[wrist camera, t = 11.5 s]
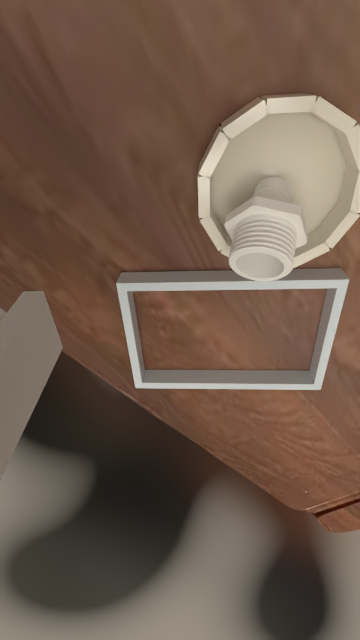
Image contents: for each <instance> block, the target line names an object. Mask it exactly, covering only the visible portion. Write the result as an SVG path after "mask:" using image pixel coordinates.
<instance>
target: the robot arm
mask: <svg viewBox="0 0 360 640" xmlns="http://www.w3.org/2000/svg"><path fill="white" fill-rule="evenodd" d="M62 348H63V346H62V343H61V341H60V338H59V335H58V332H57V329H56V326H55V323H54V320H53V318H52V315H51V312H50V309H49V306H48V303H47V300H46V297H45V294H44V292H43V291H29V292H23V293H22V294H21V295H20V297H19V298H18V299H17V301H16V302H15V303H14V304H13V306H12V307H11V308H10V310H9V311H8V312H7V314H6V315H5V316H4V318H3V319H2V320H1V322H0V479H1V477H2V475H3V473H4V471H5V469H6V466H7V464H8V462H9V460H10V458H11V456H12V454H13V452H14V449H15V447H16V445H17V443H18V441H19V439H20V437H21V434H22V433H23V430H24V428H25V426H26V424H27V422H28V420H29V418H30V416H31V414H32V412H33V409H34V407H35V405H36V403H37V401H38V399H39V397H40V395H41V393H42V390H43V388H44V386H45V384H46V382H47V380H48V378H49V376H50V373H51V371H52V369H53V367H54V365H55V363H56V361H57V359H58V357H59V355H60V352H61V350H62Z"/></svg>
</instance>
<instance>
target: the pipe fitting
mask: <svg viewBox="0 0 360 640" xmlns="http://www.w3.org/2000/svg"><path fill="white" fill-rule="evenodd" d="M290 201H291V188H290V185H289V184H288V182H286V181H285V180H283V179H281V178H278V177H269V178H265V179H263V180H261V181H260V182H259V183H258V184H257V186H256V188H255V191H254V194H253V197H252V198H251V199H250V200H248V201H247V202H245V203H244V204H242V205H241V206H239V207H238V208H236V209H235V210H233V211H232V212H230V213H229V214H227V215H226V219H225V224H224V226H225V228H226V230H227V232H228V234H229V236H230V237H231V239H232V245H231V250H230V255H229V265H230V267H231V268H232V270H233V271H235V272H236V273H237V274H239V275H240V276H242V277H245V278H247V279H251V280H255V281H273V280H277V279H280V278H282V277H285V276H286V275H288V274H289V273H290V272H291V271H292V269H293V263H294V254H295V249H296V248H298V247H301V246H303V245H305V244H306V243H307V238H308V230H307V226H306V222H305V218H304V214H303V210H302V207H301V206H299V205H295V204H290Z"/></svg>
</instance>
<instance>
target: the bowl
mask: <svg viewBox="0 0 360 640" xmlns="http://www.w3.org/2000/svg"><path fill="white" fill-rule="evenodd" d="M356 122H357V121H355V120H354V119H352V118H351V117H349V116H348V115H346V114H345V113H344V112H342V111H341V110H339V109H338V108H336V107H335V106H333V105H332V104H330V103H329V102H327V101H326V100H324V99H323V98H321V97H320V96H316V95H311V94H307V93H297V94H281V95H264V96H261V98H259V97H257V98H255V99H254V100H253V101H251V102H250V103H248V104H247V105H246V106H244V107H243V108H241V109H240V110H238V111H237V112H236V113H234V114H233V115H231V116H230V117H229V118H227V119H226V120H224V121H223V122H221V127H220V126H218V128H217V130H216V132H215V134H214V136H213V138H212V140H211V142H210V144H209V146H208V148H207V150H206V152H205V154H204V156H203V158H202V160H201V161H200V163H199V168H198V211H199V218H200V219H199V221H200V222H201V224H202V225H203V227H204V229H205V230H206V232H207V233H208V235H209V237H210V238H211V240H212V241H213V243H214V245H215V246H216V248H217V250H218V251H220V253H221V254H223V255H225V256H227V257H229V255H230V250H231V245H232V239H231V237H230V236H229V234H228V232H227V230H226V228H225V226H224V224H225V219H226V215H227V214H229V213H230V212H232V211H233V210H235V209H236V208H238V207H239V206H241V205H242V204H244V203H245V202H247V201H248V200H250V199H251V198H252V197H253V194H254V191H255V188H256V186H257V184H258V183H259V182H260V181H261V180H263V179H265V178H269V177H278V178H281V179H283V180H285V181H286V182H288V184H289V185H290V188H291V201H290V204H295V205H299V206H301V207H302V210H303V214H304V218H305V222H306V226H307V230H308V238H307V243H306V244H305V245H303V246H301V247H298V248H296V249H295V254H294V263H293V268H295V267H297V266H299V265H301V264H303V263H305V262H307V261H309V260H311V259H313V258H316V257H318V256H320V255H322V254H324V253H326V252H328V251H330V250H329V247H330V248H333V247H334V246H335V245H336V244H337V242H338V241H339V240H340V239H341V238H342V236H343V235H344V234H345V233H346V232H347V230H348V229H349V228H350V227H351V226H352V225H353V223H354V222H355V221H356V220H357V219H358V217H359V216H360V215H359V214H358V213H360V126H359V124H357V123H356Z"/></svg>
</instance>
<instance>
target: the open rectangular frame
mask: <svg viewBox="0 0 360 640" xmlns="http://www.w3.org/2000/svg"><path fill="white" fill-rule="evenodd" d="M348 282H349V278H348V277H347V276H346V274H345V273H344V271H343V270H342V268H323V269H292V271H291V272H290V273H289V274H288V275H286V276H285V277H282V278H280V279H277V280H273V281H255V280H251V279H247V278H245V277H242V276H240V275H239V274H237V273H236V272H235V271H233V270H219V271H167V272H121V273H120V276H119V278H118V280H117V283H116V285H117V290H118V296H119V301H120V307H121V312H122V317H123V323H124V328H125V334H126V339H127V345H128V350H129V355H130V361H131V366H132V372H133V377H134V382H135V388H177V389H282V390H321V386H322V382H323V379H324V375H325V371H326V367H327V363H328V359H329V356H330V352H331V348H332V344H333V340H334V336H335V332H336V329H337V325H338V321H339V317H340V313H341V309H342V306H343V302H344V298H345V294H346V290H347V286H348ZM320 288H327V292H326V297H325V301H324V306H323V310H322V315H321V319H320V324H319V328H318V333H317V337H316V342H315V346H314V351H313V355H312V360H311V364H310V369H309V370H145V367H144V361H143V355H142V348H141V342H140V335H139V329H138V322H137V316H136V310H135V303H134V297H133V291H181V290H250V289H320Z"/></svg>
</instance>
